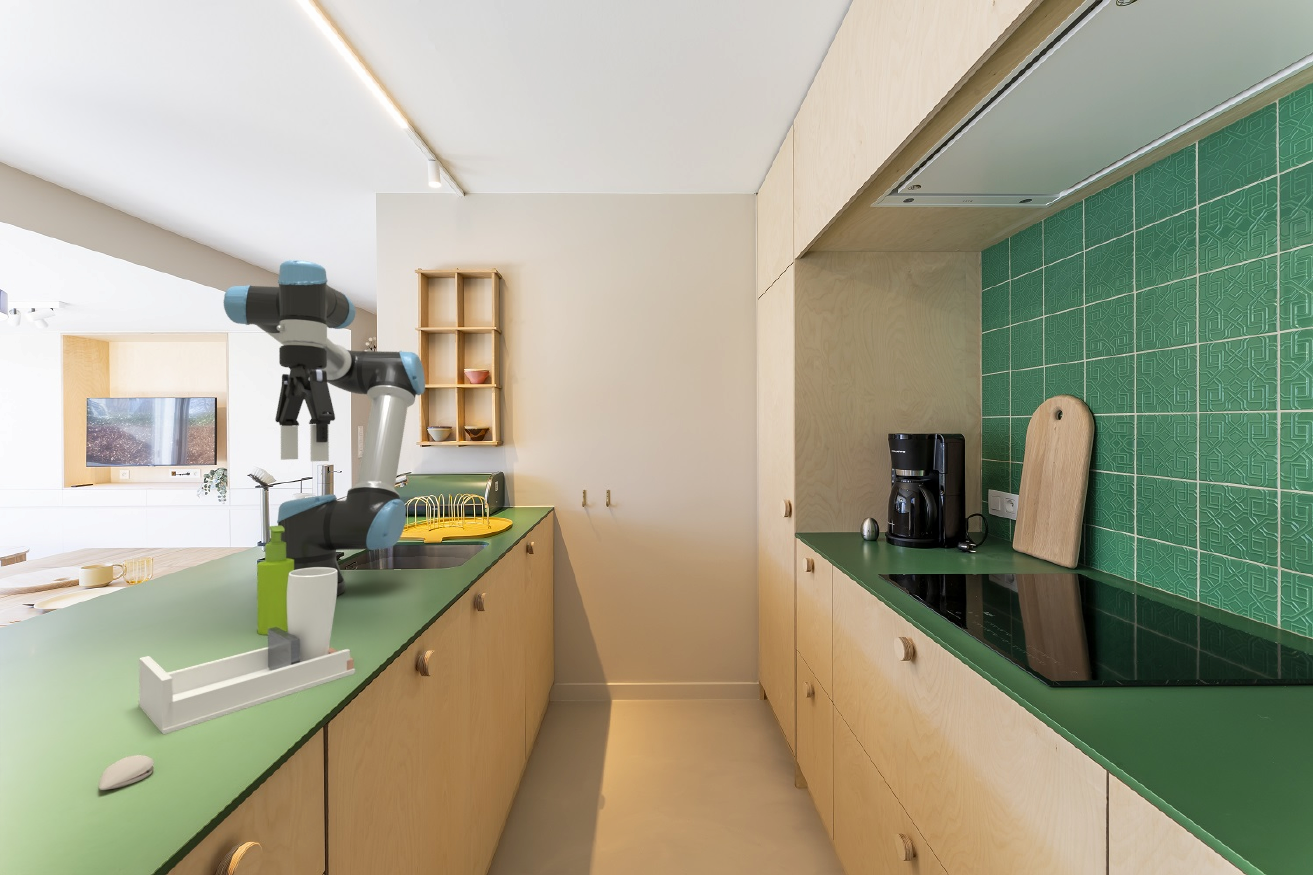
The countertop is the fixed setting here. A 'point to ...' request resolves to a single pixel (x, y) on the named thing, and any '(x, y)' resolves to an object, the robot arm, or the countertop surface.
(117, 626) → the countertop surface
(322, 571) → the white tumbler cup
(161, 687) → the pusher lane
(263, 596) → the soap dispenser
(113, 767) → the clam shell
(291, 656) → the pusher plate
